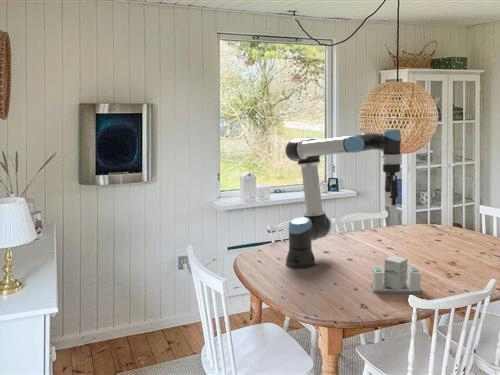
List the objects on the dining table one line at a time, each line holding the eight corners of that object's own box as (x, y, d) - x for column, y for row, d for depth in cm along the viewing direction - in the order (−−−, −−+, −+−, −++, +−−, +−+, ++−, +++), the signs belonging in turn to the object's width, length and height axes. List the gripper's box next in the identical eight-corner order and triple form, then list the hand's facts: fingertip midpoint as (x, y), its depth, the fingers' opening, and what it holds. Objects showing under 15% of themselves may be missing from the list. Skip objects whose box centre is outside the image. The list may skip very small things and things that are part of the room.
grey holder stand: (373, 292, 204) (374, 272, 202) (371, 285, 213) (371, 265, 211) (421, 293, 201) (422, 272, 200) (416, 285, 210) (417, 265, 208)
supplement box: (383, 286, 207) (383, 259, 205) (391, 281, 212) (392, 255, 210) (398, 290, 202) (399, 262, 200) (407, 285, 207) (408, 258, 205)
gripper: (379, 160, 227) (378, 203, 231) (387, 166, 203) (386, 214, 206) (395, 159, 226) (394, 203, 230) (405, 166, 202) (404, 214, 205)
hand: (390, 208), depth 218 cm, fingers open, 13 cm apart
